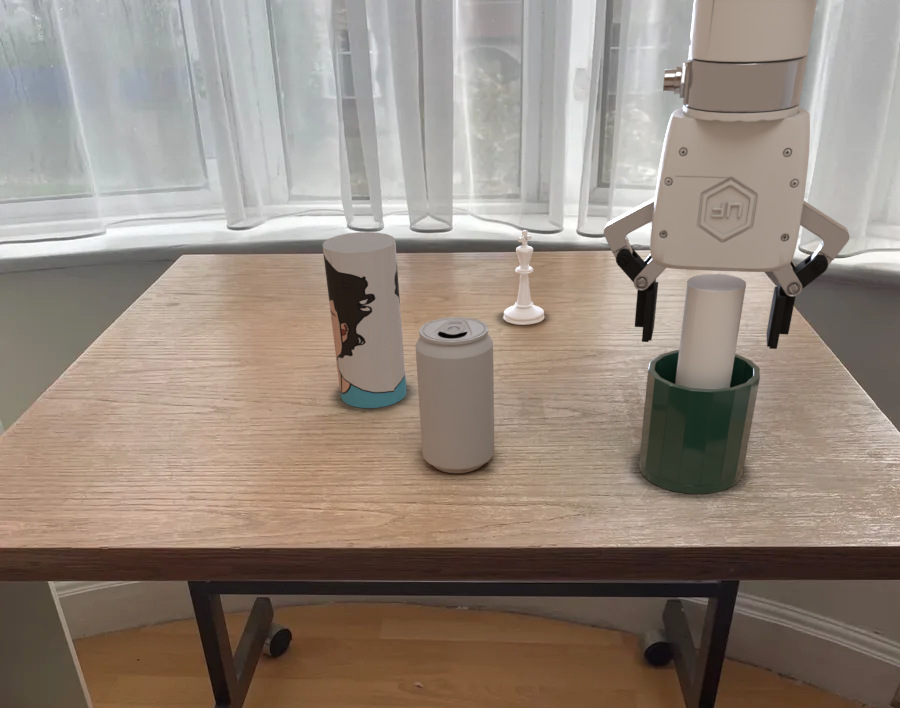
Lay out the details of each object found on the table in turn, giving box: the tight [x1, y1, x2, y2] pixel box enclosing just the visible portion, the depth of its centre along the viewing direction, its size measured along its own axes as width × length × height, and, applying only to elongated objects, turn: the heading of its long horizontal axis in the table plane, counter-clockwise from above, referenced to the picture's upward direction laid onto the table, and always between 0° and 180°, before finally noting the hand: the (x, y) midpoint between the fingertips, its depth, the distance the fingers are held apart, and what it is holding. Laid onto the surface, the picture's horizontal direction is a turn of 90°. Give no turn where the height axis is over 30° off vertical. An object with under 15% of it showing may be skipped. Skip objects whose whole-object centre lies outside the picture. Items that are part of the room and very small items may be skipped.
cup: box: [322, 231, 407, 409], centre depth 87 cm, size 7×7×15 cm
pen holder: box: [638, 349, 761, 495], centre depth 74 cm, size 9×9×9 cm
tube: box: [675, 273, 747, 389], centre depth 72 cm, size 4×4×15 cm
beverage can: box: [415, 316, 495, 474], centre depth 76 cm, size 6×6×12 cm
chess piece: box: [502, 229, 545, 326], centre depth 105 cm, size 5×5×10 cm
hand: (708, 338), depth 70 cm, fingers open, 9 cm apart
